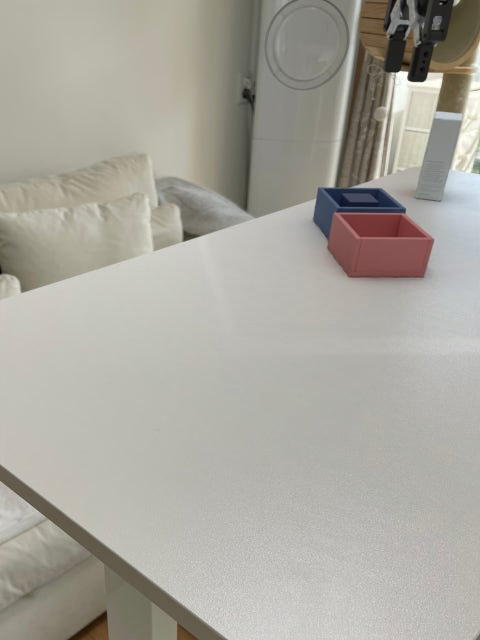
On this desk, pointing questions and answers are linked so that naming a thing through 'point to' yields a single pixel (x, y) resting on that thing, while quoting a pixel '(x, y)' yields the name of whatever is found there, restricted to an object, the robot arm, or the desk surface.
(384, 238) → the rose bin
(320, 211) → the blue bin
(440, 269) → the desk surface
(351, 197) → the navy block
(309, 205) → the desk surface
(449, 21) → the robot arm
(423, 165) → the cosmetic box
